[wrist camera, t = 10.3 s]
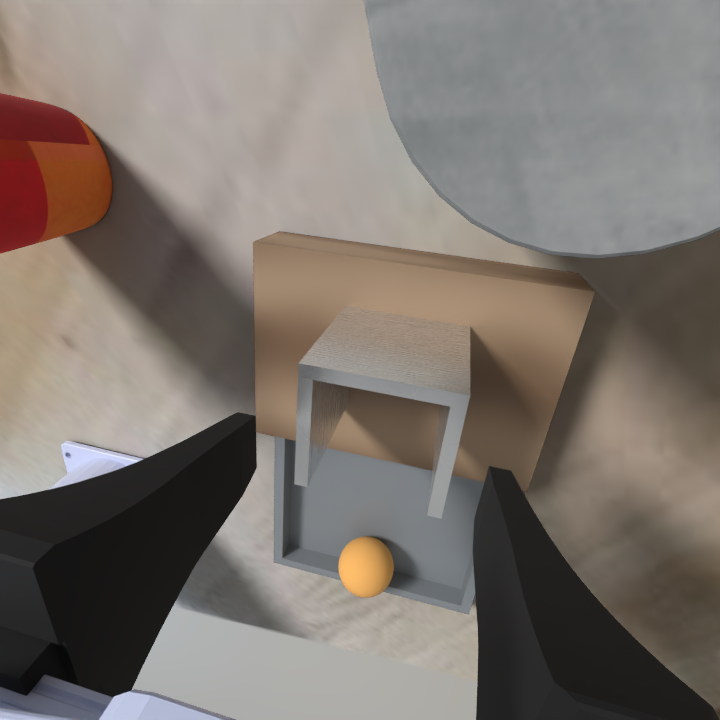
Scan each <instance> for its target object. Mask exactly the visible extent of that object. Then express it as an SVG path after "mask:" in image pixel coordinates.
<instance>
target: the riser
mask: <svg viewBox="0 0 720 720" xmlns="http://www.w3.org/2000/svg"><path fill="white" fill-rule="evenodd" d="M253 271H254V340H255V409H256V432H257V433H262V434H267V435H271V436H276V437H280V438H285V439H289V440H294V441H296V422H297V393H298V365H299V362H300V361H301V360H302V358H303V357H304V356H305V355H306V353H307V352H308V351H309V350H310V349H311V347H312V346H313V345H314V344H315V343H316V341H317V340H318V339H319V338H320V336H321V335H322V334H323V333H324V332H325V330H326V329H327V328H328V327H329V325H330V324H331V323H332V322H333V321H334V319H335V318H336V317H337V316H338V315H339V313H340V312H341V311H342V310H343V308H344V307H345V306H350V307H356V308H362V309H368V310H374V311H380V312H386V313H392V314H398V315H405V316H411V317H417V318H423V319H429V320H435V321H441V322H447V323H453V324H459V325H465V326H470V399H469V403H468V408H467V412H466V416H465V420H464V425H463V429H462V433H461V437H460V442H459V446H458V450H457V454H456V458H455V463H454V467H453V471H452V475H453V476H458V477H463V478H467V479H472V480H476V481H481V482H485V479H486V475H487V471H488V468H489V466H492V467H496V468H501V469H506V470H511V472H512V473H513V474H514V476H515V478H516V480H517V482H518V484H519V486H520V488H521V490H522V491H526V492H527V491H528V488H529V485H530V482H531V479H532V476H533V473H534V470H535V467H536V464H537V462H538V459H539V456H540V453H541V450H542V447H543V444H544V441H545V438H546V435H547V432H548V429H549V426H550V423H551V420H552V418H553V415H554V412H555V409H556V406H557V403H558V400H559V397H560V394H561V391H562V388H563V385H564V382H565V379H566V376H567V373H568V371H569V368H570V365H571V362H572V359H573V356H574V353H575V350H576V347H577V344H578V341H579V338H580V335H581V332H582V329H583V327H584V324H585V321H586V318H587V315H588V312H589V309H590V306H591V303H592V300H593V297H594V294H595V291H594V290H593V289H592V288H591V287H590V286H589V285H588V284H587V282H586V281H585V280H584V279H583V278H582V277H581V276H580V275H579V274H578V273H573V272H566V271H558V270H551V269H544V268H537V267H530V266H523V265H516V264H509V263H501V262H494V261H487V260H480V259H473V258H466V257H459V256H452V255H444V254H437V253H430V252H423V251H416V250H409V249H402V248H395V247H387V246H380V245H373V244H366V243H359V242H352V241H345V240H337V239H330V238H323V237H316V236H309V235H302V234H295V233H288V232H280V231H279V232H277V233H274V234H272V235H269V236H267V237H264V238H262V239H259V240H257V241H255V242H253ZM441 406H442V405H440V404H435V403H429V402H424V401H419V400H414V399H409V398H404V397H399V396H393V395H388V394H383V393H378V392H373V391H368V390H363V389H357V388H352V387H349V395H348V405H347V407H346V409H345V411H344V413H343V415H342V417H341V419H340V421H339V423H338V425H337V427H336V430H335V432H334V434H333V436H332V438H331V440H330V442H329V444H328V446H327V448H330V449H335V450H340V451H344V452H349V453H353V454H358V455H362V456H367V457H371V458H376V459H381V460H385V461H390V462H394V463H399V464H403V465H408V466H412V467H417V468H422V469H426V470H431V471H432V469H433V460H434V452H435V444H436V435H437V427H438V420H439V415H440V411H441Z"/></svg>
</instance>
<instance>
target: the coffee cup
mask: <svg viewBox="0 0 720 720" xmlns="http://www.w3.org/2000/svg"><path fill="white" fill-rule="evenodd" d="M112 191H113V183H112V174H111V169H110V165H109V162H108V159H107V157H106V154H105V152H104V150H103V148H102V146H101V144H100V142H99V141H98V139H97V138H96V136H95V135H94V134H93V132H92V131H91V130H90V129H89V128H88V126H87V125H86V124H85V123H84V122H83V121H81V120H80V119H79V118H78V117H76V116H75V115H74V114H72V113H70V112H69V111H67V110H64V109H62V108H59V107H57V106H54V105H50V104H46V103H42V102H38V101H33V100H29V99H24V98H20V97H15V96H11V95H6V94H1V93H0V253H4V252H7V251H11V250H15V249H18V248H22V247H25V246H29V245H32V244H36V243H39V242H43V241H46V240H50V239H53V238H57V237H60V236H63V235H66V234H70V233H73V232H76V231H79V230H82V229H85V228H88V227H90V226H92V225H94V224H96V223H97V222H99V221H100V220H101V219H102V218H103V217H104V215H105V214H106V212H107V210H108V208H109V206H110V203H111V199H112Z"/></svg>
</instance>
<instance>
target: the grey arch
mask: <svg viewBox="0 0 720 720" xmlns="http://www.w3.org/2000/svg"><path fill="white" fill-rule="evenodd" d="M349 387H352V388H357V389H363V390H368V391H373V392H378V393H383V394H388V395H393V396H399V397H404V398H409V399H414V400H419V401H424V402H429V403H435V404H440V405H442V406H441V411H440V415H439V420H438V427H437V435H436V444H435V452H434V460H433V469H432V477H431V486H430V494H429V503H428V511H427V516H431V517H436V518H440V519H441V518H442V514H443V509H444V505H445V501H446V497H447V492H448V488H449V484H450V480H451V475H452V471H453V467H454V463H455V458H456V454H457V450H458V446H459V442H460V437H461V433H462V429H463V425H464V420H465V416H466V412H467V408H468V403H469V399H470V326H465V325H459V324H453V323H447V322H441V321H435V320H429V319H423V318H417V317H411V316H405V315H398V314H392V313H386V312H380V311H374V310H368V309H362V308H356V307H350V306H345V307H344V308H343V310H342V311H341V312H340V313H339V315H338V316H337V317H336V318H335V319H334V321H333V322H332V323H331V324H330V325H329V327H328V328H327V329H326V330H325V332H324V333H323V334H322V335H321V336H320V338H319V339H318V340H317V341H316V343H315V344H314V345H313V346H312V347H311V349H310V350H309V351H308V352H307V353H306V355H305V356H304V357H303V358H302V360H301V361H300V362H299V365H298V393H297V422H296V451H295V480H294V484H296V485H300V486H304V487H308V485H309V483H310V481H311V479H312V477H313V475H314V472H315V470H316V468H317V466H318V464H319V462H320V460H321V458H322V456H323V454H324V452H325V450H326V448H327V446H328V444H329V442H330V440H331V438H332V436H333V434H334V432H335V430H336V427H337V425H338V423H339V421H340V419H341V417H342V415H343V413H344V411H345V409H346V407H347V405H348V395H349Z"/></svg>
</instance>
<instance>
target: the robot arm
mask: <svg viewBox="0 0 720 720" xmlns="http://www.w3.org/2000/svg"><path fill="white" fill-rule="evenodd" d="M61 449H62V453H63V457H64V461H65V465H66V469H67V473H68V474H67V475H66V476H64V477H63V478H62V479H61V480H59V481H58V482H57V483H56V484H54V485H53V486H52V487H50V488H49V489H48V490H45V491H41V492H37V493H32V494H27V495H22V496H17V497H11V498H5V499H0V720H235V719H232V718H229V717H226V716H223V715H220V714H217V713H214V712H211V711H208V710H205V709H202V708H199V707H196V706H193V705H190V704H187V703H184V702H181V701H178V700H175V699H172V698H169V697H166V696H163V695H160V694H157V693H153V692H147V691H142V690H135V689H134V690H132V687H133V685H134V683H135V681H136V679H137V677H138V674H139V672H140V670H141V668H142V666H143V664H144V662H145V660H146V658H147V656H148V654H149V652H150V650H151V648H152V646H153V644H154V642H155V639H156V637H157V635H158V633H159V631H160V629H161V628H162V626H163V624H164V622H165V620H166V618H167V616H168V614H169V612H170V610H171V608H172V607H173V605H174V603H175V601H176V599H177V597H178V595H179V593H180V592H181V590H182V588H183V586H184V584H185V582H186V581H187V579H188V577H189V575H190V573H191V572H192V570H193V568H194V566H195V565H196V563H197V562H198V560H199V558H200V557H201V555H202V554H203V552H204V551H205V549H206V548H207V546H208V545H209V544H210V542H211V541H212V539H213V538H214V536H215V535H216V533H217V532H218V531H219V529H220V528H221V526H222V525H223V523H224V522H225V520H226V519H227V518H228V516H229V515H230V513H231V512H232V510H233V509H234V507H235V506H236V504H237V503H238V501H239V500H240V498H241V497H242V495H243V494H244V492H245V490H246V488H247V486H248V484H249V482H250V480H251V478H252V476H253V474H254V472H255V470H256V468H257V463H256V416H253V415H248V414H243V413H236V414H234V415H231V416H229V417H228V418H226V419H224V420H222V421H220V422H218V423H216V424H214V425H213V426H211V427H209V428H207V429H205V430H203V431H201V432H199V433H197V434H196V435H194V436H192V437H190V438H188V439H186V440H184V441H182V442H180V443H178V444H176V445H174V446H172V447H170V448H167V449H165V450H163V451H161V452H159V453H157V454H155V455H153V456H150V457H148V458H146V459H142V458H138V457H134V456H129V455H125V454H121V453H117V452H113V451H109V450H105V449H100V448H96V447H92V446H88V445H84V444H80V443H75V442H71V441H66V442H64V443H63V444H62V445H61ZM473 565H474V580H475V594H476V608H477V622H478V687H477V715H476V720H719V719H718V717H717V715H716V713H715V711H714V709H713V707H712V706H711V705H710V704H708V703H707V702H706V701H705V700H704V699H703V698H701V697H700V696H699V695H698V694H697V693H695V692H694V691H693V690H692V689H691V688H690V687H688V686H687V685H686V684H685V683H684V682H682V681H681V680H680V679H679V678H678V677H676V676H675V675H674V674H673V673H672V672H671V671H669V670H668V669H667V668H666V667H665V666H664V665H663V664H661V663H660V662H659V661H658V660H657V659H656V658H655V657H654V656H653V655H652V654H651V653H650V652H649V651H648V650H646V649H645V648H644V647H643V646H642V645H641V644H640V643H639V642H638V641H637V640H636V639H635V638H634V637H633V636H632V635H631V634H630V633H629V632H628V631H627V630H626V629H625V628H624V627H623V626H622V625H621V624H620V623H619V622H618V621H617V620H616V619H615V618H614V617H613V616H612V615H611V614H610V612H609V611H608V610H607V609H606V608H605V607H604V606H603V605H602V604H601V603H600V602H599V601H598V600H597V598H596V597H595V596H594V595H593V594H592V593H591V592H590V590H589V589H588V588H587V587H586V586H585V584H584V583H583V582H582V581H581V579H580V578H579V577H578V576H577V574H576V573H575V572H574V571H573V570H572V568H571V567H570V566H569V564H568V563H567V562H566V560H565V559H564V557H563V556H562V555H561V553H560V552H559V550H558V549H557V547H556V546H555V544H554V543H553V542H552V540H551V538H550V537H549V535H548V534H547V532H546V531H545V529H544V528H543V526H542V524H541V523H540V521H539V519H538V518H537V516H536V515H535V513H534V511H533V509H532V508H531V506H530V504H529V502H528V501H527V499H526V497H525V495H524V493H523V492H522V490H521V488H520V486H519V484H518V482H517V480H516V478H515V476H514V474H513V473H512V472H511V470H506V469H501V468H496V467H492V466H489V468H488V471H487V475H486V479H485V482H484V486H483V489H482V493H481V496H480V500H479V504H478V507H477V511H476V514H475V518H474V533H473ZM131 690H132V691H131Z"/></svg>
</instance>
